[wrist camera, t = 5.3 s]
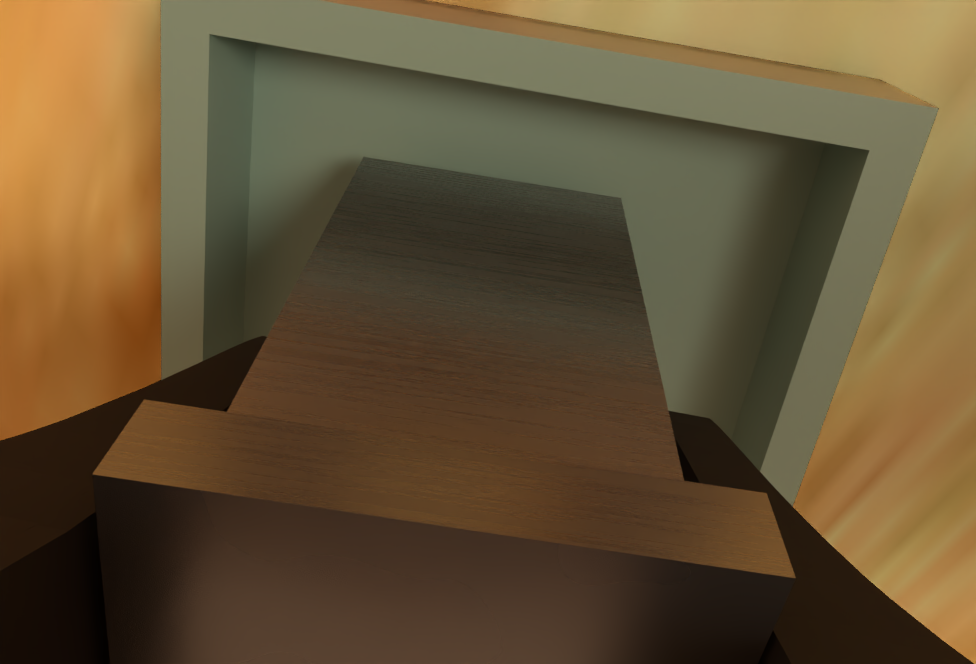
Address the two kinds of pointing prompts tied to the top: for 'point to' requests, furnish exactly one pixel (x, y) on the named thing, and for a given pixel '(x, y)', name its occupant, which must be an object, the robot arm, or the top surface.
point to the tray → (544, 180)
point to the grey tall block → (438, 461)
